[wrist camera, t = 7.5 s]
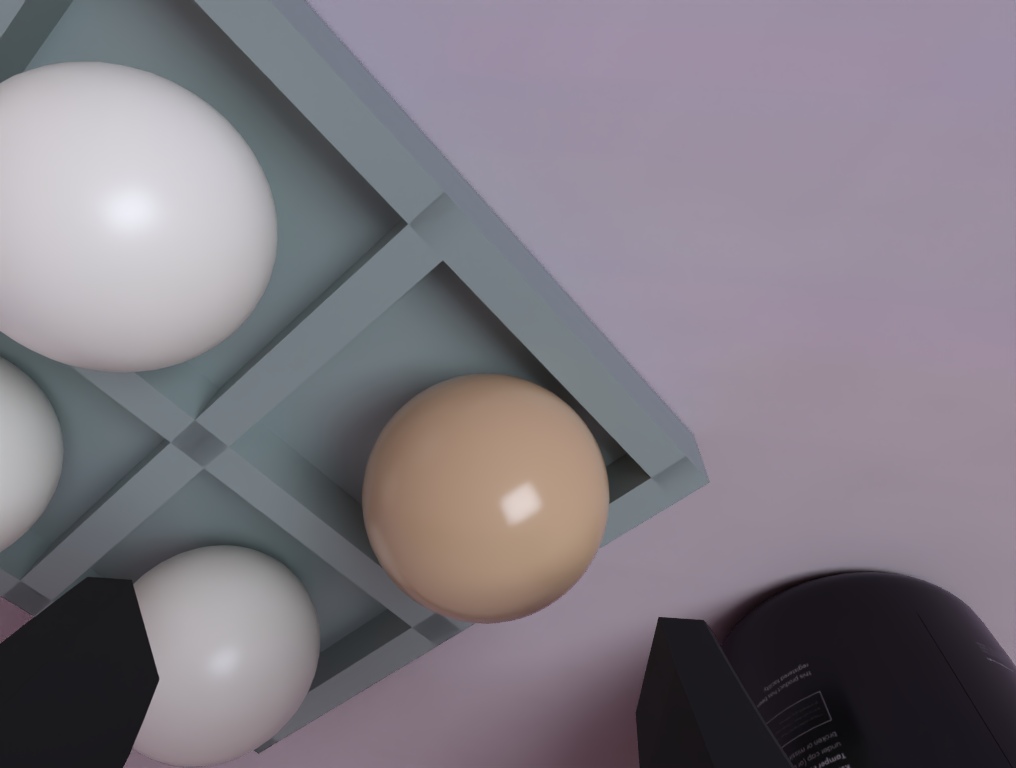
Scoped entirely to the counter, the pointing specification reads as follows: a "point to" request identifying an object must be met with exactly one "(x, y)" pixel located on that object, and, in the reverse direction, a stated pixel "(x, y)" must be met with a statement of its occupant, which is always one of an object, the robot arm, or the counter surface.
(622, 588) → the counter surface
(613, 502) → the egg carton
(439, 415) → the brown egg
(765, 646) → the supplement bottle
